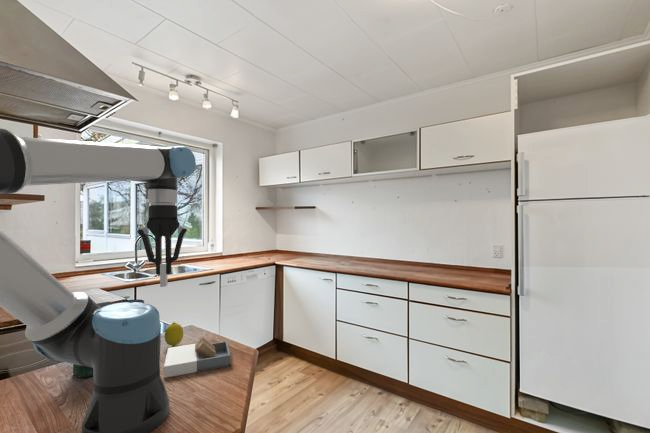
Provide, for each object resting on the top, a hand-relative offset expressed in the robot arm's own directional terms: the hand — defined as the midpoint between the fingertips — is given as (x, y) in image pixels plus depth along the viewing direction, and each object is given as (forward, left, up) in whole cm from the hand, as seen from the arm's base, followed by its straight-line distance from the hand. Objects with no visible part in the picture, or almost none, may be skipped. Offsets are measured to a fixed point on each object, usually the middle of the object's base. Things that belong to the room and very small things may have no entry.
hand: (163, 285), depth 88 cm
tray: (-3, -13, -23) cm, 27 cm away
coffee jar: (+4, +17, -23) cm, 29 cm away
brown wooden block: (-2, -10, -20) cm, 23 cm away
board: (-2, -5, -23) cm, 23 cm away
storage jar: (+17, +12, -23) cm, 31 cm away
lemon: (+13, -2, -23) cm, 26 cm away
